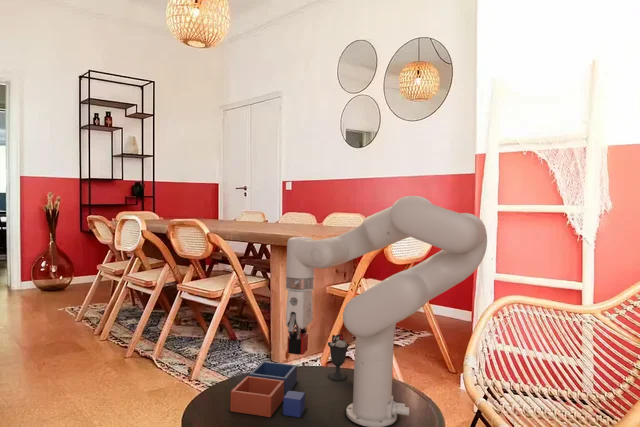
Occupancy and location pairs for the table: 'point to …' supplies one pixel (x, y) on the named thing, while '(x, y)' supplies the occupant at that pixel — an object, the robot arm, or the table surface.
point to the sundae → (338, 354)
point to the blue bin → (277, 373)
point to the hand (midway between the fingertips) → (297, 350)
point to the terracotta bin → (257, 396)
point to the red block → (303, 343)
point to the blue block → (294, 403)
